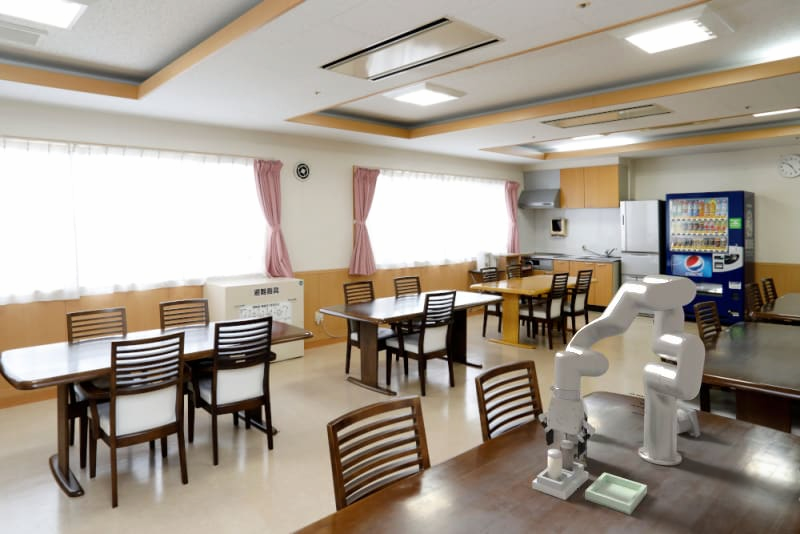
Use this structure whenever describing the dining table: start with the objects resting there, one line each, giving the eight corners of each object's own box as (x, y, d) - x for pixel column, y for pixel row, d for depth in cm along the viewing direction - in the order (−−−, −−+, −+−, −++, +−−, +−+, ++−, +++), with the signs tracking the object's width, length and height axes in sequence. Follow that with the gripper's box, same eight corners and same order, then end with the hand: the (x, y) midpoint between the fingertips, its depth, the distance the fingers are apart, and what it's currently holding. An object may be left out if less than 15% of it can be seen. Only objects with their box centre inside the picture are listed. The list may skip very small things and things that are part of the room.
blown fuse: (563, 467, 157) (563, 439, 156) (575, 471, 154) (576, 442, 153) (557, 472, 154) (557, 443, 153) (570, 476, 151) (570, 447, 150)
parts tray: (604, 480, 152) (604, 472, 152) (646, 493, 144) (646, 485, 144) (585, 499, 142) (585, 490, 142) (629, 515, 134) (630, 505, 134)
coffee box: (587, 467, 160) (588, 417, 159) (566, 466, 162) (566, 416, 161) (583, 455, 169) (583, 407, 168) (562, 453, 171) (563, 406, 169)
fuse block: (556, 468, 160) (557, 434, 159) (588, 478, 154) (588, 443, 153) (532, 488, 148) (532, 451, 148) (565, 500, 142) (565, 461, 141)
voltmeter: (705, 433, 186) (706, 406, 185) (694, 442, 178) (694, 414, 177) (632, 413, 205) (632, 390, 205) (619, 421, 198) (619, 396, 197)
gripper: (534, 389, 155) (532, 444, 156) (590, 402, 143) (588, 461, 144) (545, 384, 160) (544, 437, 162) (600, 396, 149) (598, 453, 150)
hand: (565, 448), depth 153 cm, fingers open, 9 cm apart
